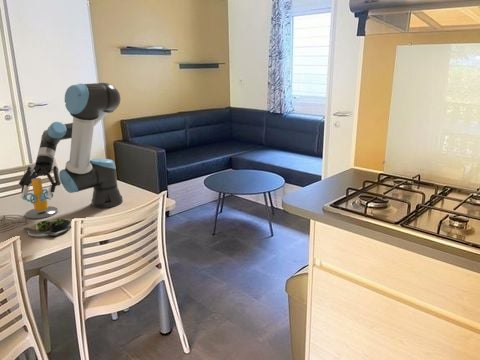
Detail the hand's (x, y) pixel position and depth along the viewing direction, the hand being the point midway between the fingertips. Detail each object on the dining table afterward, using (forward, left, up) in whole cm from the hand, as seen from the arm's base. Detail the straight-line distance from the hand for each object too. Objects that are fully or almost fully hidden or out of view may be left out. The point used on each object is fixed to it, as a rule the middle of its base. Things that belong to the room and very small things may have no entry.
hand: (36, 198), depth 180 cm
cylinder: (+1, -3, -7) cm, 7 cm away
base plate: (+1, -3, -9) cm, 9 cm away
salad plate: (-19, +10, -9) cm, 23 cm away
